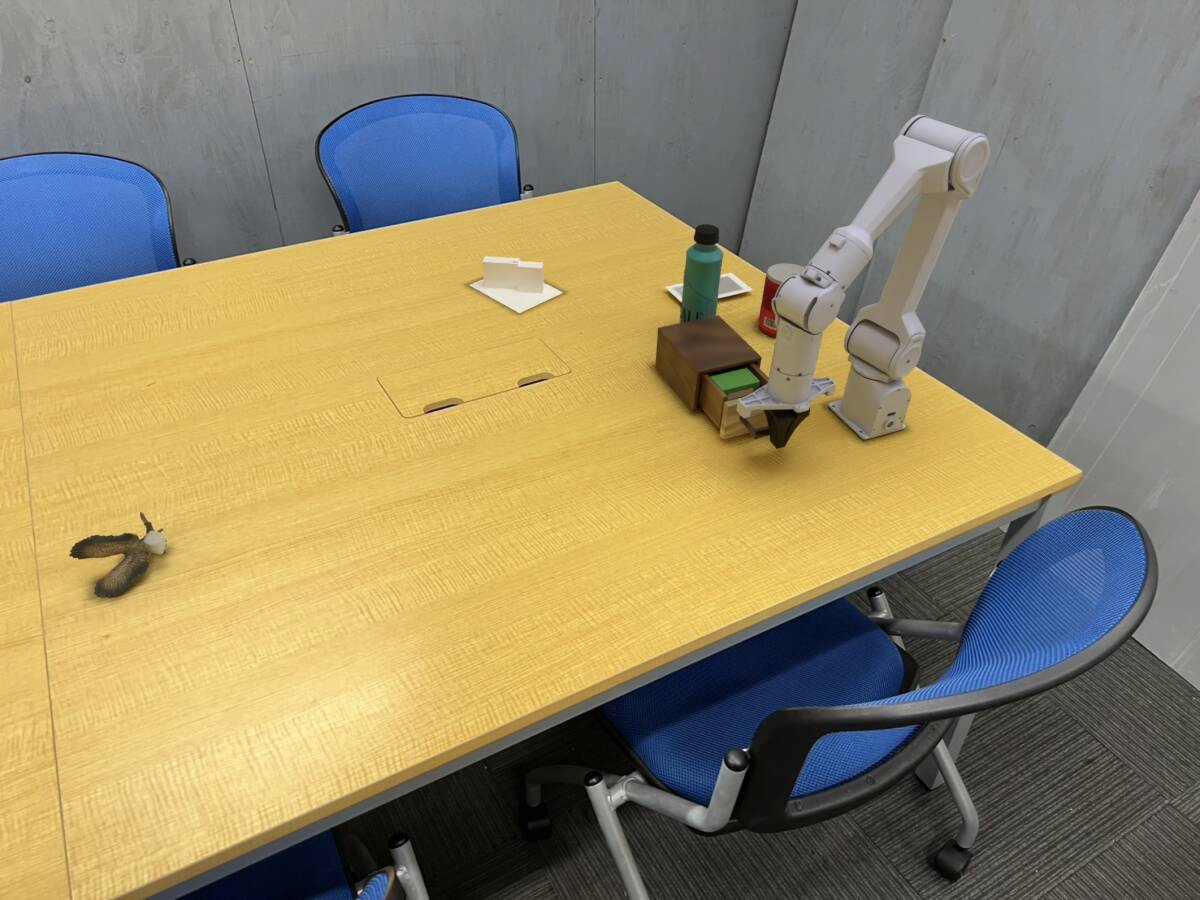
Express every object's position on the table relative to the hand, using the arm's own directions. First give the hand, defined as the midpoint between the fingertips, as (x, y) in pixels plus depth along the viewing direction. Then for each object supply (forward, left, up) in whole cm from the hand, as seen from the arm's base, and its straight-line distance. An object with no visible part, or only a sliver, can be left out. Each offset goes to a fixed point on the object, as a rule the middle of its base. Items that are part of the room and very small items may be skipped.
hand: (777, 443), depth 115 cm
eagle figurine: (+11, +85, -3) cm, 86 cm away
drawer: (+10, 0, -2) cm, 10 cm away
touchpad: (+47, -15, -3) cm, 50 cm away
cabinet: (+21, 0, -3) cm, 22 cm away
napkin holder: (+62, +19, -3) cm, 65 cm away
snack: (+13, 0, -1) cm, 13 cm away
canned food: (+31, -21, -3) cm, 38 cm away
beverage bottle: (+35, -6, -3) cm, 36 cm away
